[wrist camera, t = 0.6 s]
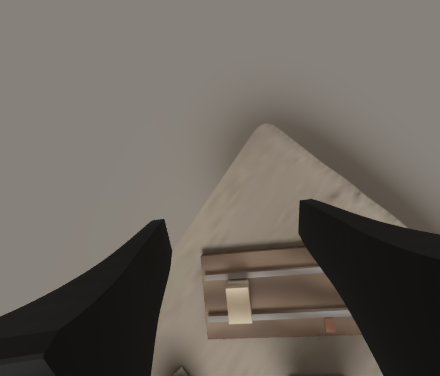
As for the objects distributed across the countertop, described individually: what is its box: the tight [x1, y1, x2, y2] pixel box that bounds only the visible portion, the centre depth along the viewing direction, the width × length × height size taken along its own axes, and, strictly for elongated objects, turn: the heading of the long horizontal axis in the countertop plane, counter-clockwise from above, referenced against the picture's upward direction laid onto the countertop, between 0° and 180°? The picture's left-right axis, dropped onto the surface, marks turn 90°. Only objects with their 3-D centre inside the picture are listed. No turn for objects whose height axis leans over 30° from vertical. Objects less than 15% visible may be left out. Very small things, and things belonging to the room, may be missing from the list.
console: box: [201, 246, 362, 339], centre depth 30 cm, size 12×24×2 cm, turn 96°
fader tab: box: [226, 279, 252, 324], centre depth 29 cm, size 4×3×4 cm
